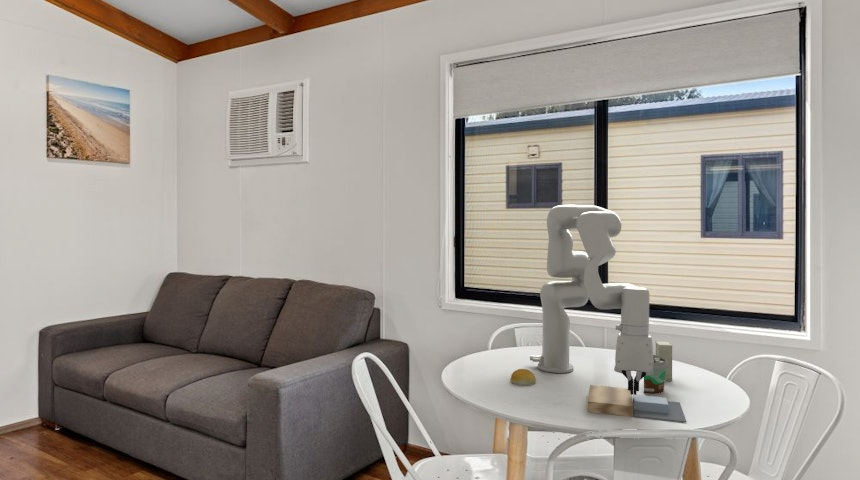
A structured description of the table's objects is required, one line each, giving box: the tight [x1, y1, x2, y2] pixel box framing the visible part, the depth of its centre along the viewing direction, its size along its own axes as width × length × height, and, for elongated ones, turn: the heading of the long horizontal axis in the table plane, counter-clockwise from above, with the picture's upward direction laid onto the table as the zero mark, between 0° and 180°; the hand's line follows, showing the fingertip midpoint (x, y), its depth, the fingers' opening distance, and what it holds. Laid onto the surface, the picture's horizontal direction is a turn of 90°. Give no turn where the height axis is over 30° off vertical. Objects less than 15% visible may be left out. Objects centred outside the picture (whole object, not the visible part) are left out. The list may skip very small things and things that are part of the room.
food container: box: [643, 354, 668, 395], centre depth 176 cm, size 12×6×10 cm, turn 148°
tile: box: [632, 394, 668, 413], centre depth 159 cm, size 9×6×2 cm, turn 72°
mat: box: [633, 400, 687, 423], centre depth 158 cm, size 13×16×1 cm
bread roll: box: [510, 368, 537, 386], centre depth 185 cm, size 8×9×4 cm
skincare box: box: [655, 340, 673, 382], centre depth 189 cm, size 6×4×12 cm
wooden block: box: [586, 384, 634, 418], centre depth 162 cm, size 12×16×3 cm
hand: (633, 393), depth 160 cm, fingers closed
